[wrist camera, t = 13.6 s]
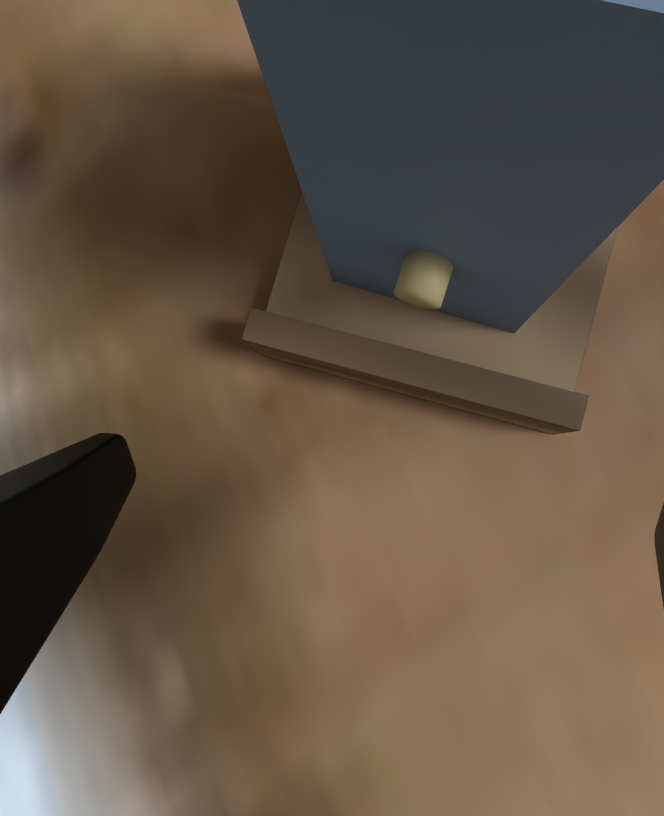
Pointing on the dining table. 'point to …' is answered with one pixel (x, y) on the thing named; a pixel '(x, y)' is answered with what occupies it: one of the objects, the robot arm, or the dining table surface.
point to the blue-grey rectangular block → (465, 138)
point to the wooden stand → (431, 339)
